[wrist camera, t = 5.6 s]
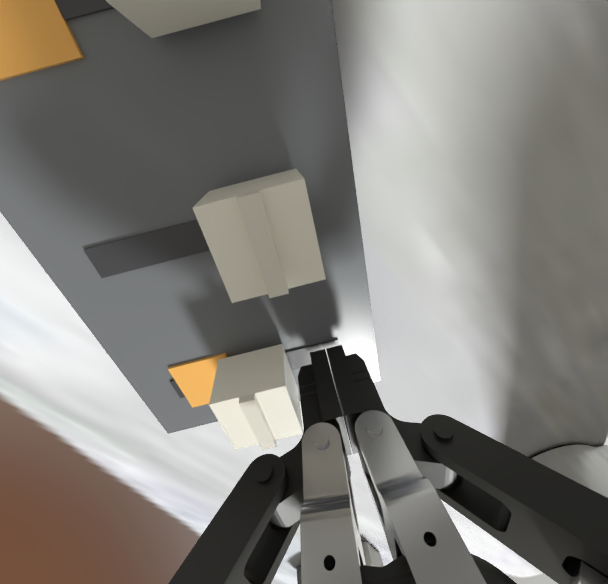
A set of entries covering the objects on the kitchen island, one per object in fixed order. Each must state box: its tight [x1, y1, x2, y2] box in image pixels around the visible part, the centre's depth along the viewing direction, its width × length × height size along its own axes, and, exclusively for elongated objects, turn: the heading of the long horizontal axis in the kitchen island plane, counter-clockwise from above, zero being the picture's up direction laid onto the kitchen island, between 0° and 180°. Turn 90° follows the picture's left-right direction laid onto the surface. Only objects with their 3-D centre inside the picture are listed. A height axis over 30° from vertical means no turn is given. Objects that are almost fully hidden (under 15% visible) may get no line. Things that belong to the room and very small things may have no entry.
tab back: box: [209, 344, 303, 450], centre depth 13 cm, size 3×3×3 cm
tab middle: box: [193, 168, 326, 303], centre depth 9 cm, size 3×3×3 cm
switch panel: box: [0, 0, 381, 433], centre depth 12 cm, size 12×20×2 cm, turn 13°
